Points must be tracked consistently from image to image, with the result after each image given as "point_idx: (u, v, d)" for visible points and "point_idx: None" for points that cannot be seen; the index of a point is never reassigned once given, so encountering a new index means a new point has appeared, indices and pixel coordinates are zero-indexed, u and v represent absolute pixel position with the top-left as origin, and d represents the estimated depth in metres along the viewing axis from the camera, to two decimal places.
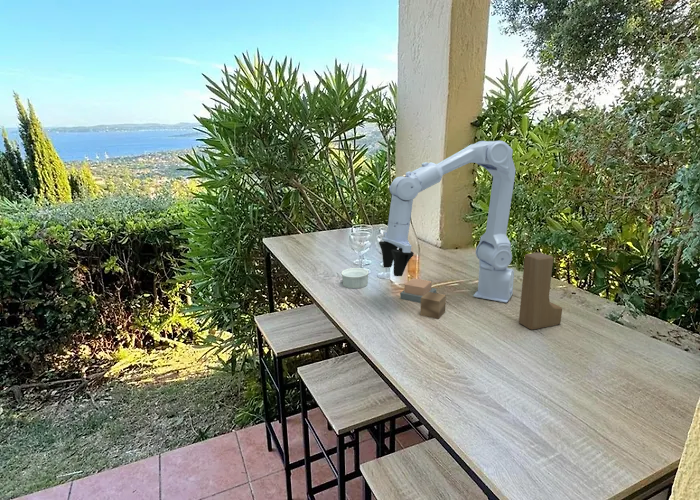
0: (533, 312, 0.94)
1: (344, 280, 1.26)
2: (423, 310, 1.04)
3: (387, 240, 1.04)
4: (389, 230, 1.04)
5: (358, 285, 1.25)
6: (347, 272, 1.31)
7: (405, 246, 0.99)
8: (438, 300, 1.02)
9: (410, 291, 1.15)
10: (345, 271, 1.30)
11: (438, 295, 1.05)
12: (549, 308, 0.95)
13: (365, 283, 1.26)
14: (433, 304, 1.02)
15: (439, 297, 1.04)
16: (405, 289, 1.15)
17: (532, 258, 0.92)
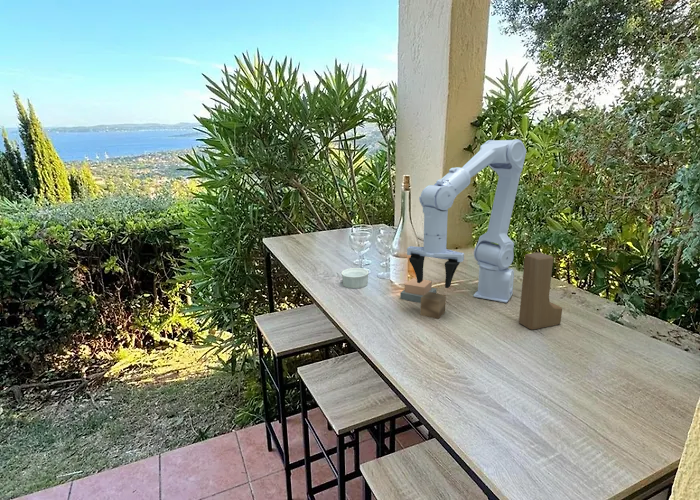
0: (533, 312, 0.94)
1: (344, 280, 1.26)
2: (423, 310, 1.04)
3: (434, 255, 0.98)
4: (433, 244, 0.98)
5: (358, 285, 1.25)
6: (347, 272, 1.31)
7: (461, 255, 0.97)
8: (438, 300, 1.02)
9: (410, 291, 1.15)
10: (345, 271, 1.30)
11: (438, 295, 1.05)
12: (549, 308, 0.95)
13: (365, 283, 1.26)
14: (433, 304, 1.02)
15: (439, 297, 1.04)
16: (405, 289, 1.15)
17: (532, 258, 0.92)
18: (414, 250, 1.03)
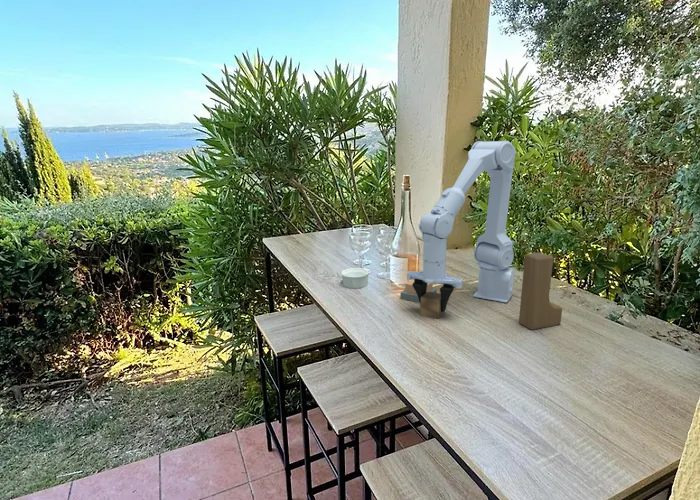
0: (533, 312, 0.94)
1: (344, 280, 1.26)
2: (423, 309, 1.04)
3: (433, 281, 1.00)
4: (432, 270, 1.00)
5: (358, 285, 1.25)
6: (347, 272, 1.31)
7: (460, 282, 0.99)
8: (438, 299, 1.02)
9: (411, 291, 1.15)
10: (345, 271, 1.30)
11: (438, 295, 1.05)
12: (549, 308, 0.95)
13: (365, 283, 1.26)
14: (433, 304, 1.02)
15: (439, 296, 1.04)
16: (406, 289, 1.15)
17: (532, 258, 0.92)
18: (414, 275, 1.04)
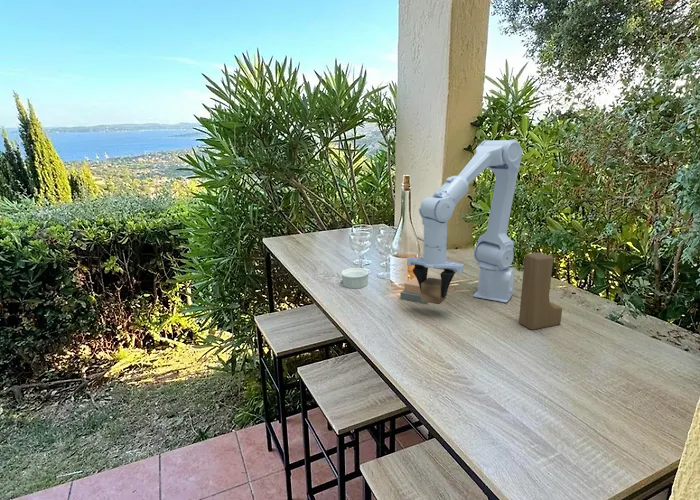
0: (533, 312, 0.94)
1: (344, 280, 1.26)
2: (424, 295, 1.03)
3: (434, 266, 0.99)
4: (433, 255, 0.99)
5: (358, 285, 1.25)
6: (347, 272, 1.31)
7: (461, 266, 0.97)
8: (438, 285, 1.01)
9: (410, 290, 1.15)
10: (345, 271, 1.30)
11: (439, 280, 1.04)
12: (549, 308, 0.95)
13: (365, 283, 1.26)
14: (433, 289, 1.01)
15: (440, 282, 1.03)
16: (405, 288, 1.16)
17: (532, 258, 0.92)
18: (414, 261, 1.03)
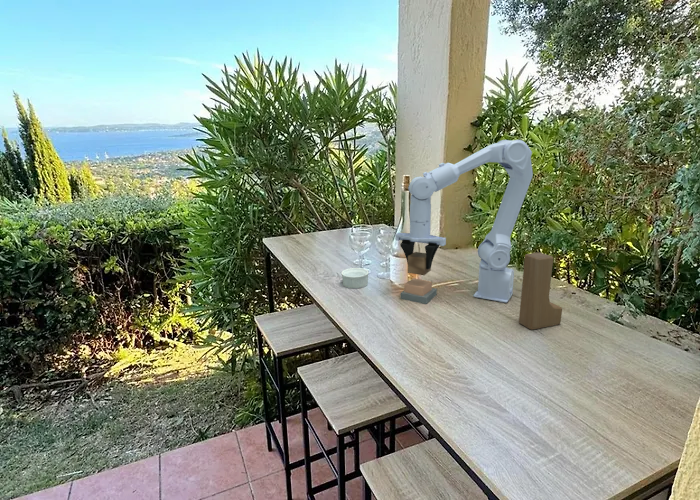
0: (533, 312, 0.94)
1: (344, 280, 1.26)
2: (410, 267, 1.13)
3: (419, 239, 1.09)
4: (418, 230, 1.09)
5: (358, 285, 1.25)
6: (347, 272, 1.31)
7: (443, 240, 1.08)
8: (423, 257, 1.11)
9: (410, 291, 1.15)
10: (345, 271, 1.30)
11: (424, 254, 1.14)
12: (549, 308, 0.95)
13: (365, 283, 1.26)
14: (418, 261, 1.11)
15: (425, 255, 1.13)
16: (405, 289, 1.16)
17: (532, 258, 0.92)
18: (401, 236, 1.13)
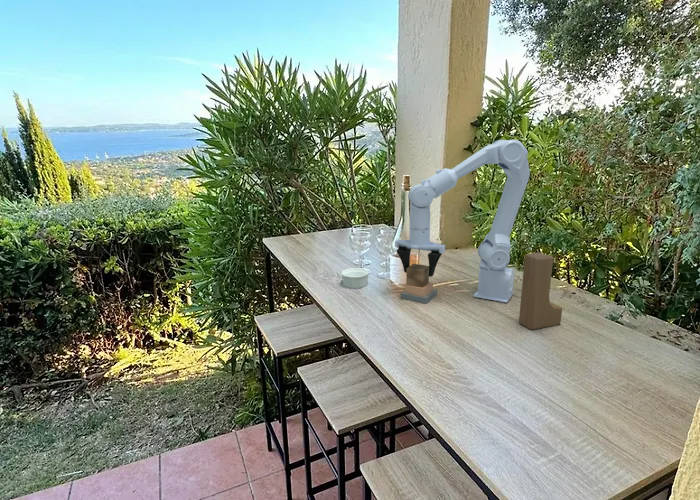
0: (533, 312, 0.94)
1: (344, 280, 1.26)
2: (409, 279, 1.14)
3: (418, 247, 1.10)
4: (418, 237, 1.10)
5: (358, 285, 1.25)
6: (347, 272, 1.31)
7: (443, 247, 1.08)
8: (422, 269, 1.12)
9: (410, 292, 1.15)
10: (345, 271, 1.30)
11: (422, 266, 1.15)
12: (549, 308, 0.95)
13: (365, 283, 1.26)
14: (417, 274, 1.12)
15: (423, 267, 1.14)
16: (406, 290, 1.15)
17: (532, 258, 0.92)
18: (401, 243, 1.14)
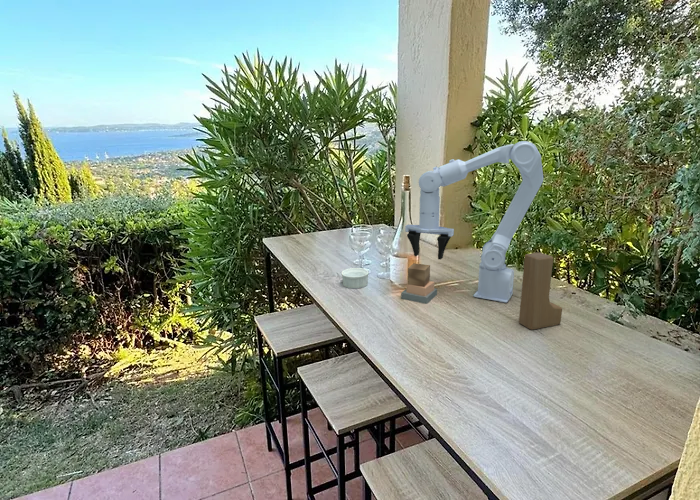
0: (533, 312, 0.94)
1: (344, 280, 1.26)
2: (410, 279, 1.14)
3: (428, 230, 1.15)
4: (427, 221, 1.14)
5: (358, 285, 1.25)
6: (347, 272, 1.31)
7: (452, 231, 1.13)
8: (423, 269, 1.12)
9: (412, 291, 1.15)
10: (345, 271, 1.30)
11: (423, 265, 1.15)
12: (549, 308, 0.95)
13: (365, 283, 1.26)
14: (419, 273, 1.12)
15: (424, 267, 1.14)
16: (407, 289, 1.15)
17: (532, 258, 0.92)
18: (411, 227, 1.19)
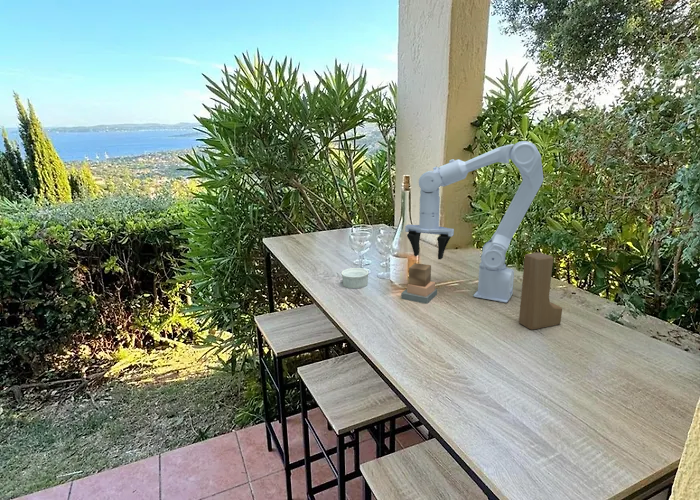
0: (533, 312, 0.94)
1: (344, 280, 1.26)
2: (411, 279, 1.14)
3: (428, 230, 1.15)
4: (427, 221, 1.14)
5: (358, 285, 1.25)
6: (347, 272, 1.31)
7: (452, 231, 1.13)
8: (424, 269, 1.13)
9: (413, 291, 1.15)
10: (345, 271, 1.30)
11: (424, 265, 1.16)
12: (549, 308, 0.95)
13: (365, 283, 1.26)
14: (420, 273, 1.13)
15: (425, 266, 1.14)
16: (408, 289, 1.15)
17: (532, 258, 0.92)
18: (411, 227, 1.19)
